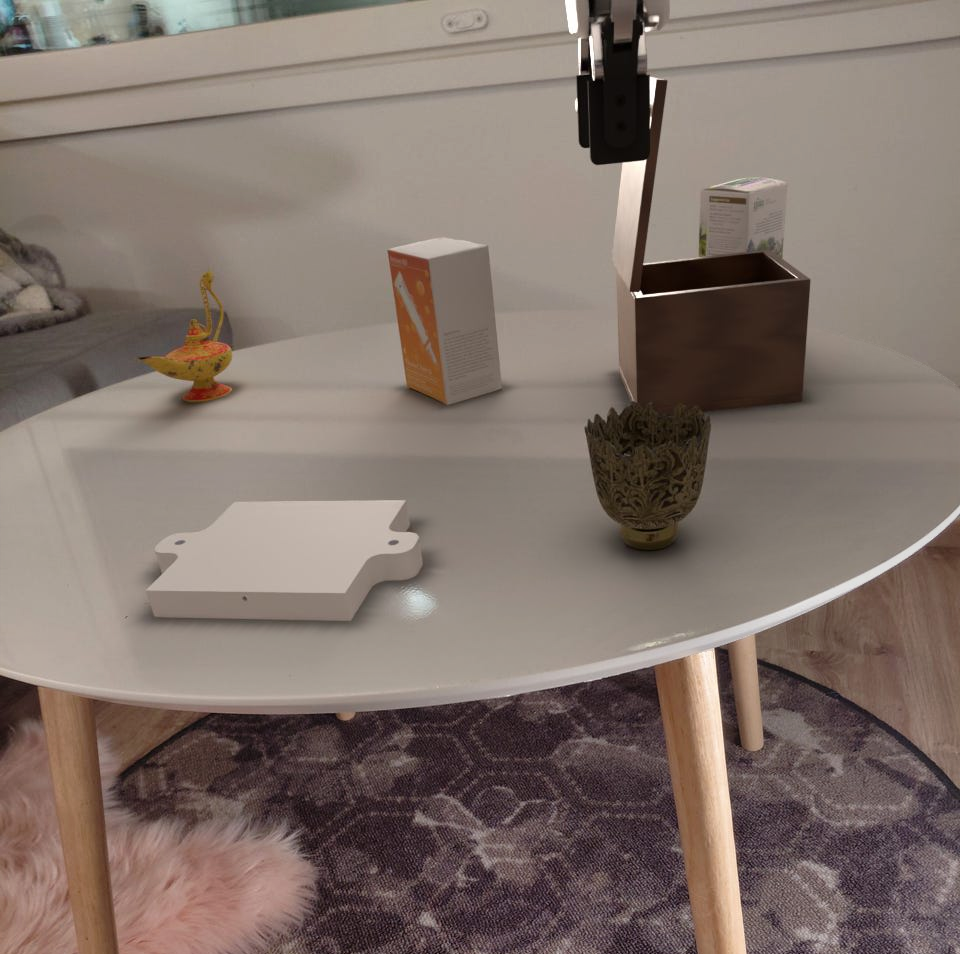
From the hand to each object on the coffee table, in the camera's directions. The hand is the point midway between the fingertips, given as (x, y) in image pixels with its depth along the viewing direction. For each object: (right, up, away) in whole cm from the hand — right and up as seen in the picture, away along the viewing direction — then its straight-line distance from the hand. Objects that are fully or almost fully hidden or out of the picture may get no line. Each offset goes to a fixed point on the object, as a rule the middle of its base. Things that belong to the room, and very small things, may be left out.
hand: (611, 153), depth 57 cm
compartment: (+12, -6, +29) cm, 32 cm away
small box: (-10, -5, +37) cm, 38 cm away
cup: (+3, -22, +5) cm, 23 cm away
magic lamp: (-36, -4, +43) cm, 56 cm away
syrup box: (+18, +1, +40) cm, 44 cm away
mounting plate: (-20, -24, +7) cm, 32 cm away
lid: (+5, +8, +20) cm, 22 cm away
